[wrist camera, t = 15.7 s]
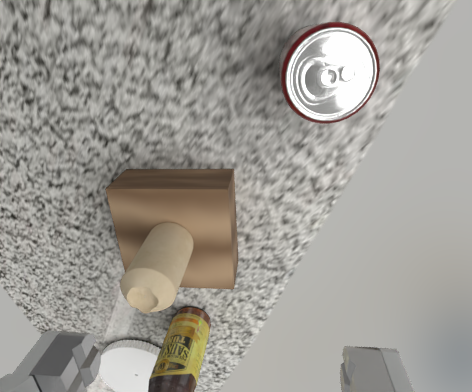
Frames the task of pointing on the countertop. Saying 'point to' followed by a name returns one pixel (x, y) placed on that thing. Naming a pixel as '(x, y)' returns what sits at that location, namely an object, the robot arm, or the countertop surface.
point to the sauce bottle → (181, 352)
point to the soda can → (328, 71)
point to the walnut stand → (180, 218)
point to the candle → (158, 268)
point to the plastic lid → (128, 365)
